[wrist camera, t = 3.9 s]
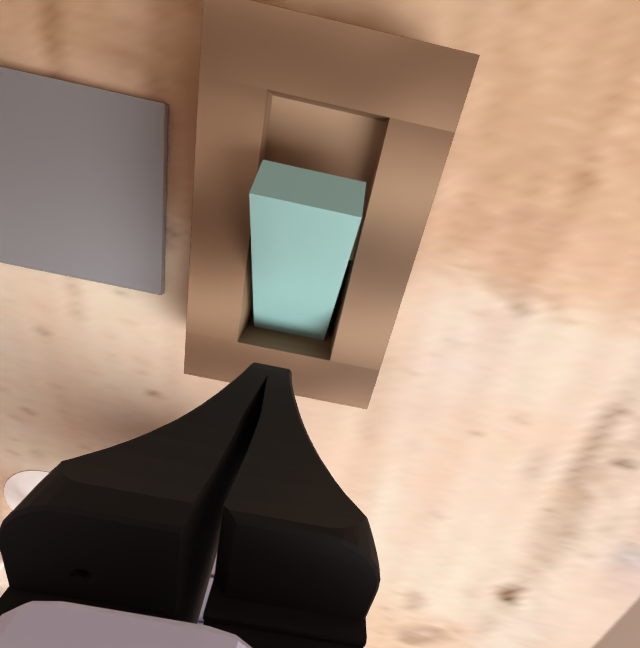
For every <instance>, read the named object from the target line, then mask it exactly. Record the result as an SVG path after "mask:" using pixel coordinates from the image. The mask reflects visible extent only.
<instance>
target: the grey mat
mask: <svg viewBox="0 0 640 648" xmlns="http://www.w3.org/2000/svg"><path fill="white" fill-rule="evenodd" d="M167 138H168V105H167V104H165V103H160V102H156V101H151V100H147V99H142V98H138V97H134V96H129V95H125V94H120V93H116V92H111V91H107V90H103V89H98V88H94V87H89V86H85V85H80V84H76V83H71V82H67V81H63V80H58V79H54V78H49V77H45V76H40V75H36V74H32V73H27V72H23V71H18V70H14V69H9V68H5V67H0V262H1V263H6V264H11V265H16V266H21V267H26V268H31V269H36V270H41V271H46V272H51V273H55V274H60V275H65V276H70V277H75V278H80V279H85V280H90V281H95V282H100V283H104V284H109V285H114V286H119V287H124V288H129V289H134V290H139V291H144V292H149V293H154V294H158V295H162V294H163V293H164V279H165V232H166V185H167Z"/></svg>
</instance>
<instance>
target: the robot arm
mask: <svg viewBox="0 0 640 648" xmlns="http://www.w3.org/2000/svg"><path fill="white" fill-rule="evenodd" d="M0 552H1V555H2V559H3V563H4V567H5V570H6V574H7V578H8V582H9V587H8V589H7V590H6V591H5V592H4V594H3V595H2V596H1V597H0V648H363V646H365V644H366V639H367V634H366V615H367V613H368V611H369V609H370V607H371V604H372V602H373V600H374V598H375V595H376V593H377V591H378V588H379V583H380V569H379V562H378V557H377V552H376V547H375V543H374V539H373V535H372V532H371V528H370V525H369V522H368V519H367V517H366V516H365V515H364V514H363V513H362V512H361V510H360V509H359V508H358V507H357V506H356V505H355V504H354V503H353V502H352V501H351V500H350V498H349V497H348V496H347V495H346V494H345V493H344V492H343V490H342V489H341V488H340V487H339V485H338V484H337V483H336V481H335V480H334V478H333V477H332V475H331V474H330V472H329V471H328V469H327V468H326V466H325V465H324V463H323V462H322V460H321V459H320V457H319V455H318V453H317V452H316V450H315V448H314V446H313V444H312V442H311V440H310V438H309V436H308V434H307V431H306V429H305V427H304V424H303V421H302V419H301V416H300V413H299V410H298V407H297V403H296V400H295V396H294V391H293V386H292V372H291V370H290V369H286V368H281V367H276V366H271V365H266V364H261V363H256V362H254V363H252V364H251V365H250V366H249V367H248V368H247V369H246V370H245V371H243V372H242V373H241V374H240V375H239V376H238V377H237V378H236V379H235V380H233V381H232V382H231V383H230V384H228V385H227V386H226V387H225V388H224V389H222V390H221V391H220V392H219V393H217V394H216V395H214V396H213V397H212V398H210V399H209V400H207V401H206V402H205V403H203V404H202V405H200V406H199V407H197V408H195V409H194V410H192V411H191V412H189V413H187V414H186V415H184V416H182V417H180V418H179V419H177V420H175V421H173V422H171V423H169V424H167V425H164V426H162V427H160V428H158V429H156V430H154V431H152V432H150V433H147V434H145V435H142V436H140V437H137V438H135V439H132V440H130V441H127V442H124V443H121V444H118V445H116V446H113V447H110V448H107V449H103V450H100V451H97V452H93V453H90V454H86V455H83V456H79V457H76V458H73V459H69V460H65V461H62V462H61V463H60V464H59V465H58V466H57V467H55V468H54V469H53V470H52V471H51V472H50V473H49V474H48V475H46V476H45V477H44V478H43V479H42V480H41V481H40V482H39V483H38V484H37V485H36V486H35V487H34V489H33V490H32V491H31V492H30V493H29V494H28V495H27V496H26V497H25V498H24V499H23V500H22V501H21V502H20V503H19V504H18V505H17V507H16V508H15V509H14V510H13V511H12V512H11V513H10V514H9V515H8V516H7V517H6V518H5V519H4V520H3V522H2V524H1V527H0Z"/></svg>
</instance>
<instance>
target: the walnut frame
mask: <svg viewBox="0 0 640 648" xmlns="http://www.w3.org/2000/svg"><path fill="white" fill-rule="evenodd" d="M479 56H480V55H477V54H473V53H469V52H465V51H460V50H456V49H452V48H448V47H444V46H440V45H435V44H431V43H427V42H423V41H419V40H414V39H410V38H406V37H402V36H398V35H394V34H389V33H385V32H381V31H377V30H373V29H369V28H364V27H360V26H356V25H352V24H348V23H343V22H339V21H335V20H331V19H327V18H323V17H318V16H314V15H310V14H306V13H302V12H298V11H293V10H289V9H285V8H281V7H277V6H272V5H268V4H264V3H260V2H256V1H252V0H203V8H202V28H201V48H200V67H199V87H198V107H197V126H196V146H195V166H194V185H193V205H192V225H191V244H190V264H189V284H188V303H187V323H186V343H185V362H184V374H189V375H194V376H199V377H205V378H210V379H215V380H220V381H225V382H230V383H231V382H232V381H233V380H235V379H236V378H237V377H238V376H239V375H240V374H241V373H242V372H243V371H245V370H246V369H247V368H248V367H249V366H250V365H251V364H252V363H254V362H256V363H261V364H266V365H271V366H276V367H281V368H286V369H290V370H291V372H292V386H293V391H294V395H297V396H302V397H307V398H312V399H317V400H322V401H327V402H332V403H338V404H343V405H348V406H353V407H358V408H363V409H367V408H368V405H369V402H370V399H371V395H372V392H373V389H374V386H375V383H376V380H377V377H378V373H379V370H380V367H381V364H382V361H383V358H384V355H385V351H386V348H387V345H388V342H389V339H390V336H391V333H392V329H393V326H394V323H395V320H396V317H397V314H398V311H399V307H400V304H401V301H402V298H403V295H404V292H405V288H406V285H407V282H408V279H409V276H410V273H411V270H412V266H413V263H414V260H415V257H416V254H417V251H418V248H419V244H420V241H421V238H422V235H423V232H424V229H425V226H426V222H427V219H428V216H429V213H430V210H431V207H432V204H433V200H434V197H435V194H436V191H437V188H438V185H439V181H440V178H441V175H442V172H443V169H444V166H445V163H446V159H447V156H448V153H449V150H450V147H451V144H452V141H453V137H454V134H455V131H456V128H457V125H458V122H459V119H460V115H461V112H462V109H463V106H464V103H465V100H466V97H467V93H468V90H469V87H470V84H471V81H472V78H473V75H474V71H475V68H476V65H477V62H478V59H479ZM262 160H267V161H272V162H276V163H281V164H285V165H290V166H294V167H299V168H303V169H308V170H313V171H317V172H322V173H326V174H331V175H335V176H340V177H344V178H349V179H353V180H358V181H362V182H366V189H365V197H364V205H363V213H362V219H361V222H360V225H359V229H358V232H357V235H356V238H355V242H354V245H353V248H352V251H351V254H350V258H349V261H348V264H347V267H346V271H345V274H344V277H343V280H342V284H341V288H340V292H339V297H338V301H337V305H336V309H335V313H334V318H333V322H332V326H331V327H329V326H328V329H327V332H326V335H325V338H324V340H319V339H314V338H309V337H304V336H299V335H294V334H289V333H284V332H279V331H274V330H270V329H265V328H260V327H255V326H254V308H253V281H252V254H251V226H250V199H249V193H250V190H251V188H252V185H253V183H254V180H255V178H256V175H257V173H258V170H259V168H260V165H261V163H262Z"/></svg>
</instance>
